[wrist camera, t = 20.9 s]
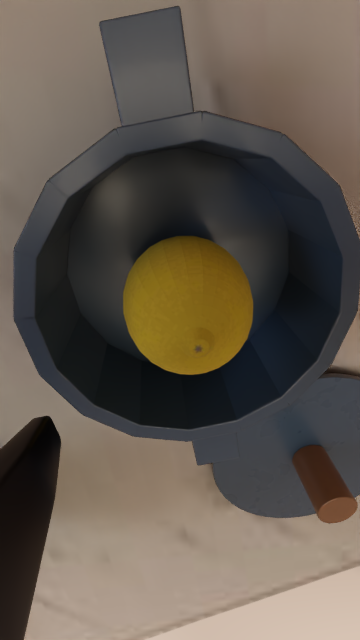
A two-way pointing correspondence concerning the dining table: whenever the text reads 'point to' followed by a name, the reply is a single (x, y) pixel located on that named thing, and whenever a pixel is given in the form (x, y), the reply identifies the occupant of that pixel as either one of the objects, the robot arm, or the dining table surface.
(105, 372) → the pot
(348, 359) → the dining table surface
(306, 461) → the pot lid
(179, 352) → the lemon
